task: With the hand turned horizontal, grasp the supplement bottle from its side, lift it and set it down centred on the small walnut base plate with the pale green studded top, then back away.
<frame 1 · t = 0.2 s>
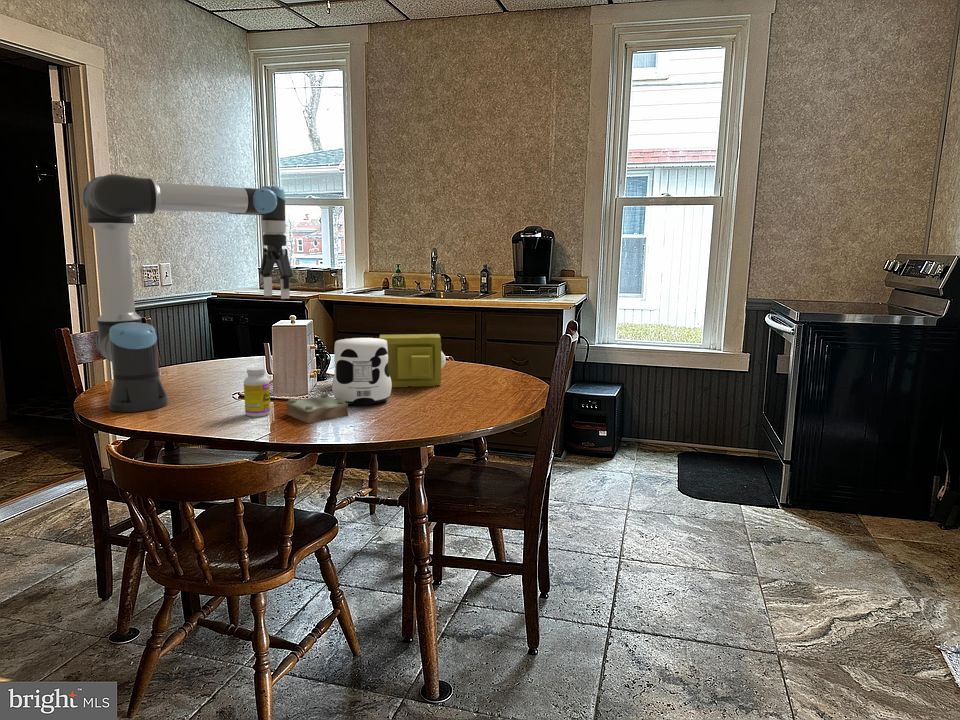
hand: (276, 297, 231), 28 cm above the table, tool pointing down, fingers open, 13 cm apart
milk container: (362, 402, 202), on the table
olive green rectangular box: (393, 386, 223), on the table
supplement bottle: (258, 415, 186), on the table
base plate: (317, 415, 186), on the table
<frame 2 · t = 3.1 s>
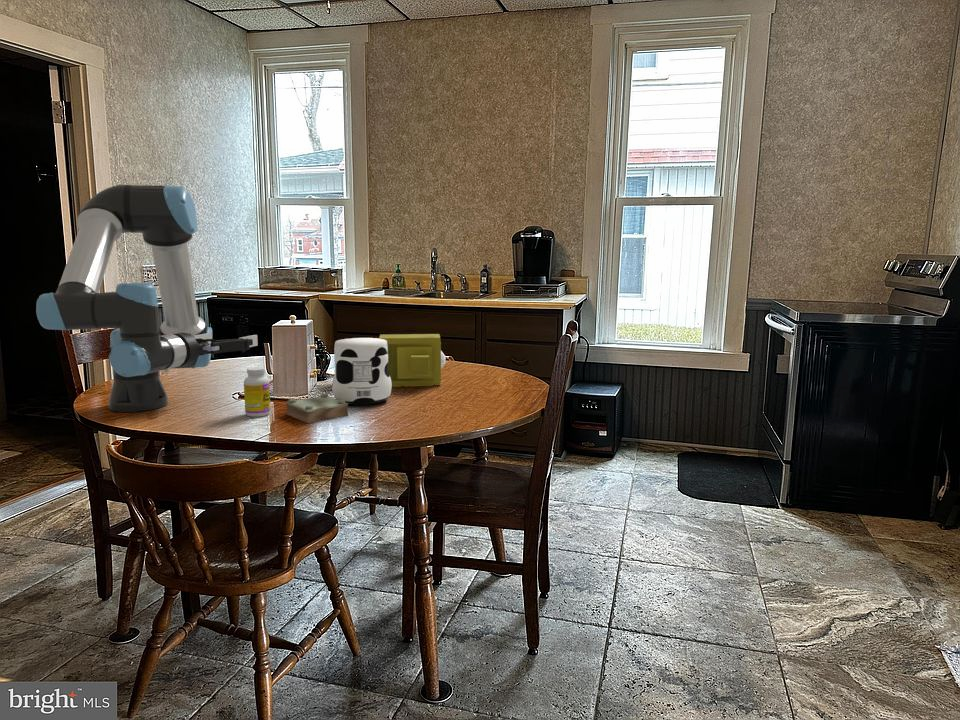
hand: (233, 339, 174), 22 cm above the table, tool horizontal, fingers open, 13 cm apart
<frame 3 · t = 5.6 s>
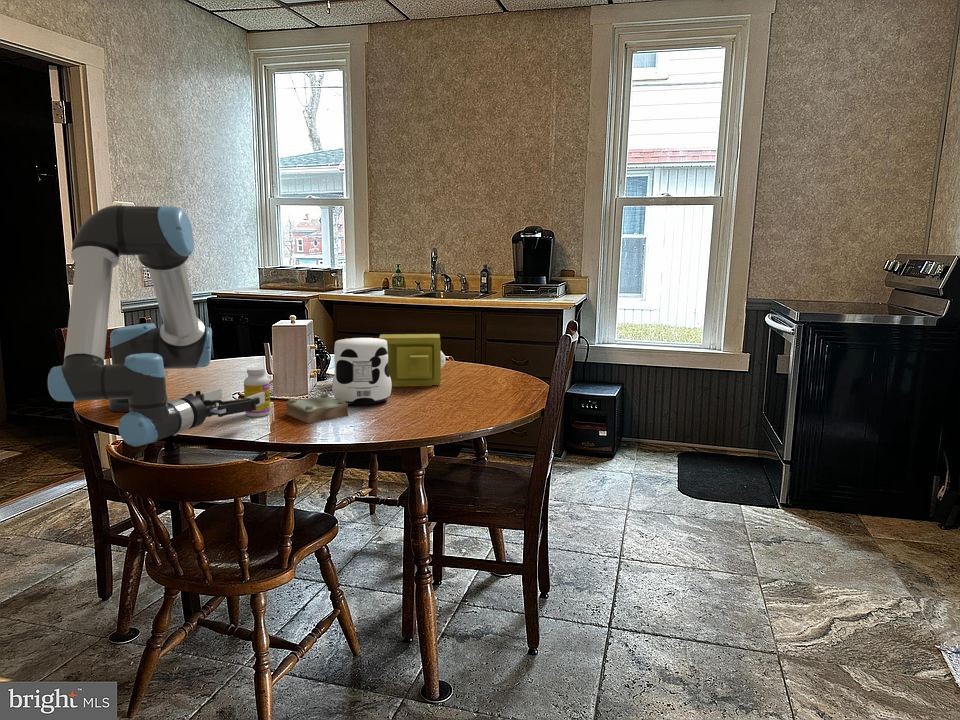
hand: (241, 395, 178), 7 cm above the table, tool horizontal, fingers open, 13 cm apart
nothing on the table moved.
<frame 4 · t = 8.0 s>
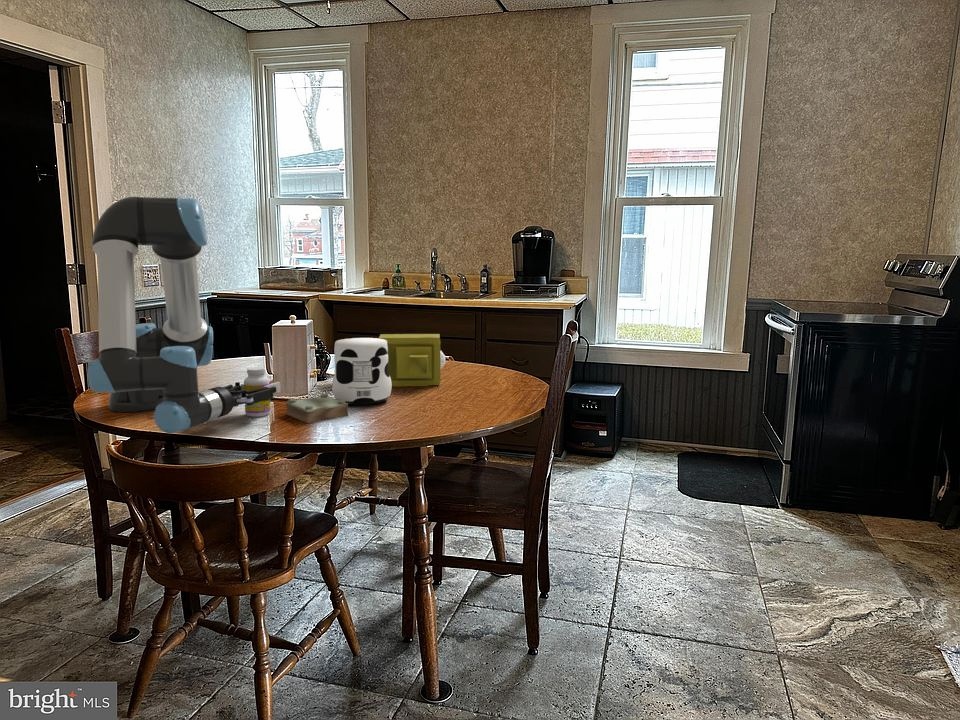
hand: (268, 385, 189), 7 cm above the table, tool horizontal, fingers closed on supplement bottle, 7 cm apart
supplement bottle: (258, 415, 186), on the table, touching gripper
everything else where it was.
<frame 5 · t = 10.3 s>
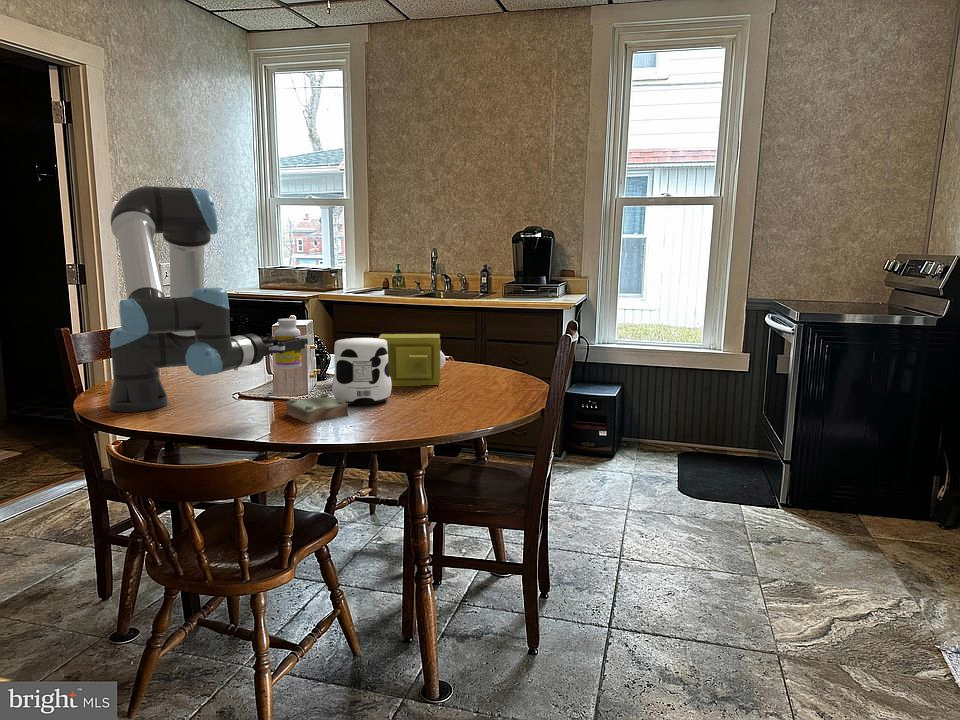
hand: (299, 338, 185), 21 cm above the table, tool horizontal, fingers closed on supplement bottle, 7 cm apart
supplement bottle: (289, 367, 182), point 13 cm above the table, touching gripper
when the fingers open (12 cm above the table, at t = 12.6 s): supplement bottle drops 1 cm, resting on base plate.
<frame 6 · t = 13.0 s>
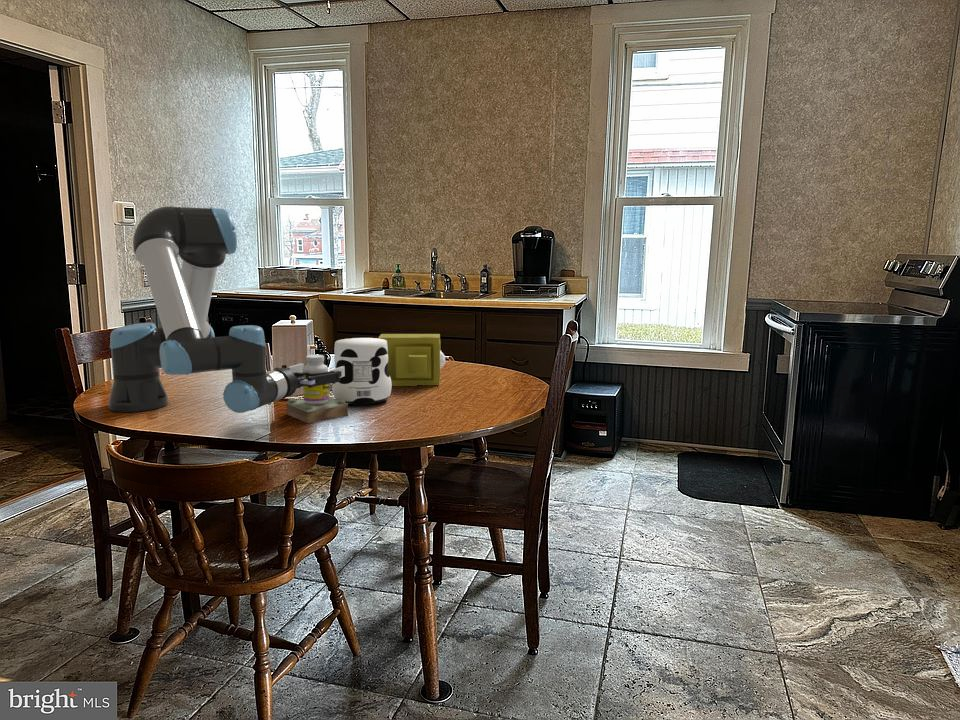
hand: (322, 369, 187), 12 cm above the table, tool horizontal, fingers open, 12 cm apart
supplement bottle: (316, 403, 185), point 3 cm above the table, touching base plate
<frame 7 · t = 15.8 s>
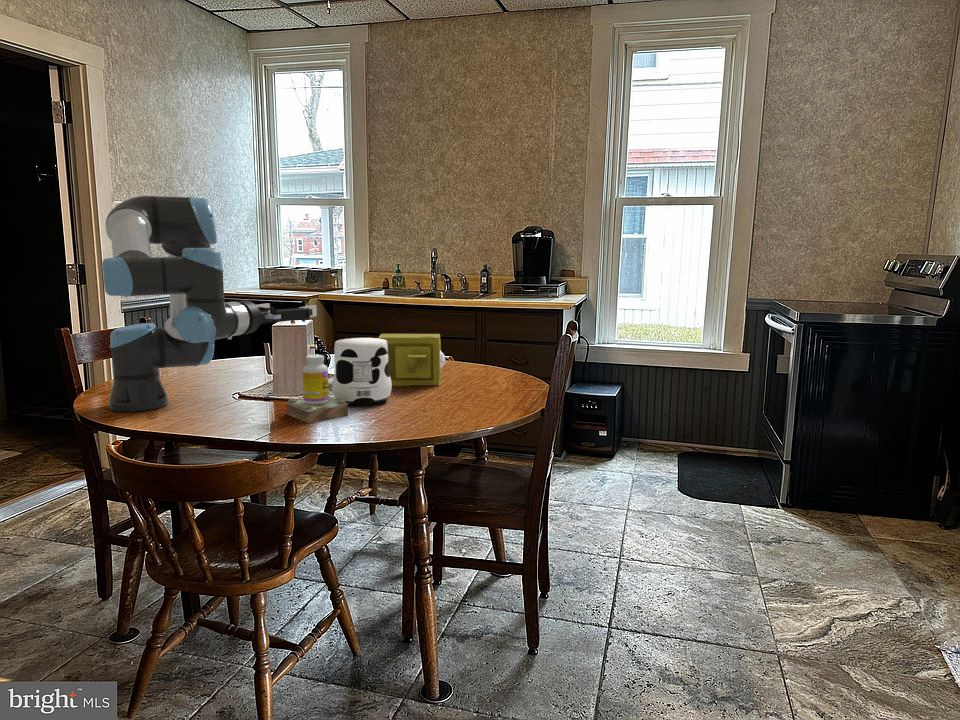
hand: (291, 309, 171), 30 cm above the table, tool horizontal, fingers open, 13 cm apart
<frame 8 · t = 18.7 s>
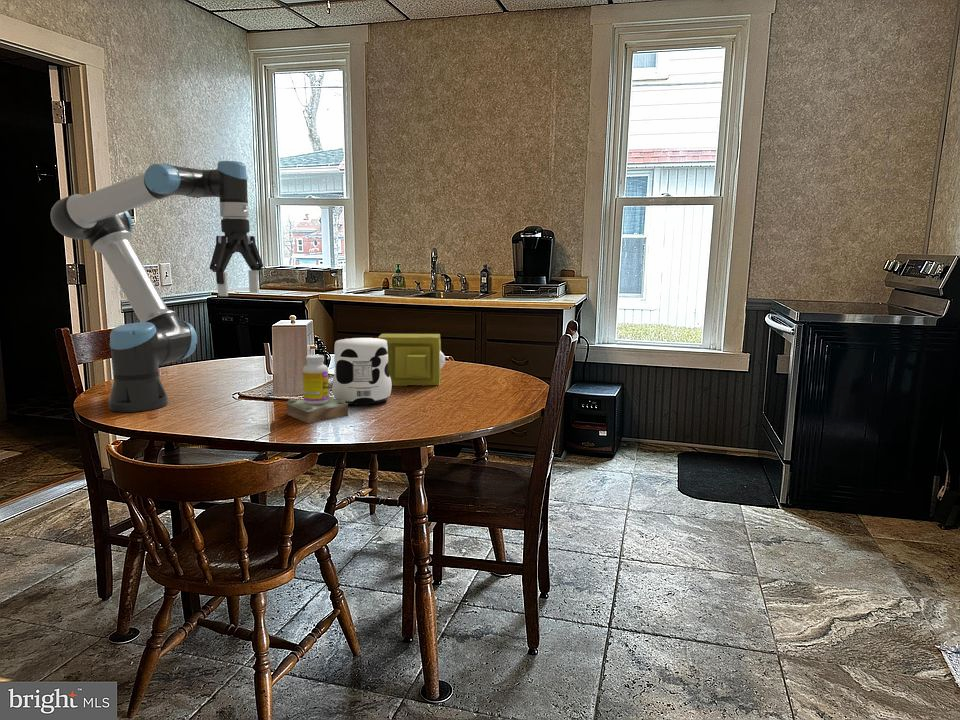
hand: (239, 294, 194), 32 cm above the table, tool pointing down, fingers open, 13 cm apart
at the end: supplement bottle inside the target area on the base plate (0.1 cm from its centre), point 3.3 cm above the base plate's base; supplement bottle tilted 0°; the gripper is holding nothing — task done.
